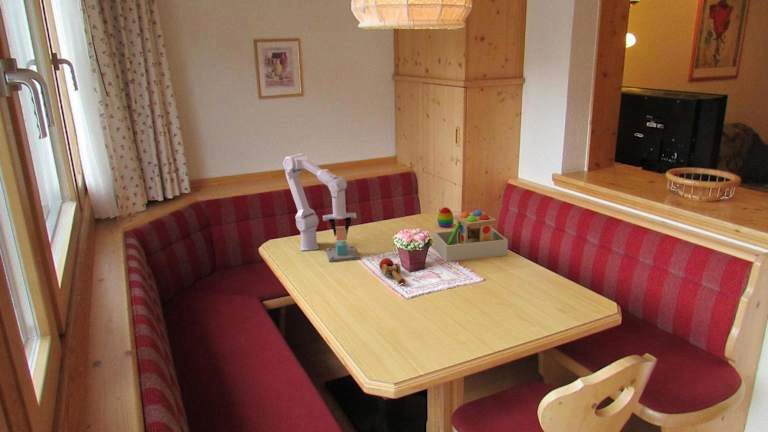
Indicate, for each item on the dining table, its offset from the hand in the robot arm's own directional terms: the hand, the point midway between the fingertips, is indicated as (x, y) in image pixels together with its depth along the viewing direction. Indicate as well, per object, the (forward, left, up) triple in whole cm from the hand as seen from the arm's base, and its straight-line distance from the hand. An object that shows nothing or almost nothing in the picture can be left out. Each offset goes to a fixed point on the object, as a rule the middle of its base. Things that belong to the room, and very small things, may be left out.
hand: (340, 234), depth 243 cm
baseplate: (0, 0, -10) cm, 10 cm away
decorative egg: (-26, +57, -10) cm, 63 cm away
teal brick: (0, 0, -9) cm, 9 cm away
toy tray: (+11, +56, -10) cm, 58 cm away
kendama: (+30, +17, -10) cm, 36 cm away
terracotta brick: (0, 0, -2) cm, 2 cm away
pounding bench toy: (+12, +54, -10) cm, 56 cm away
